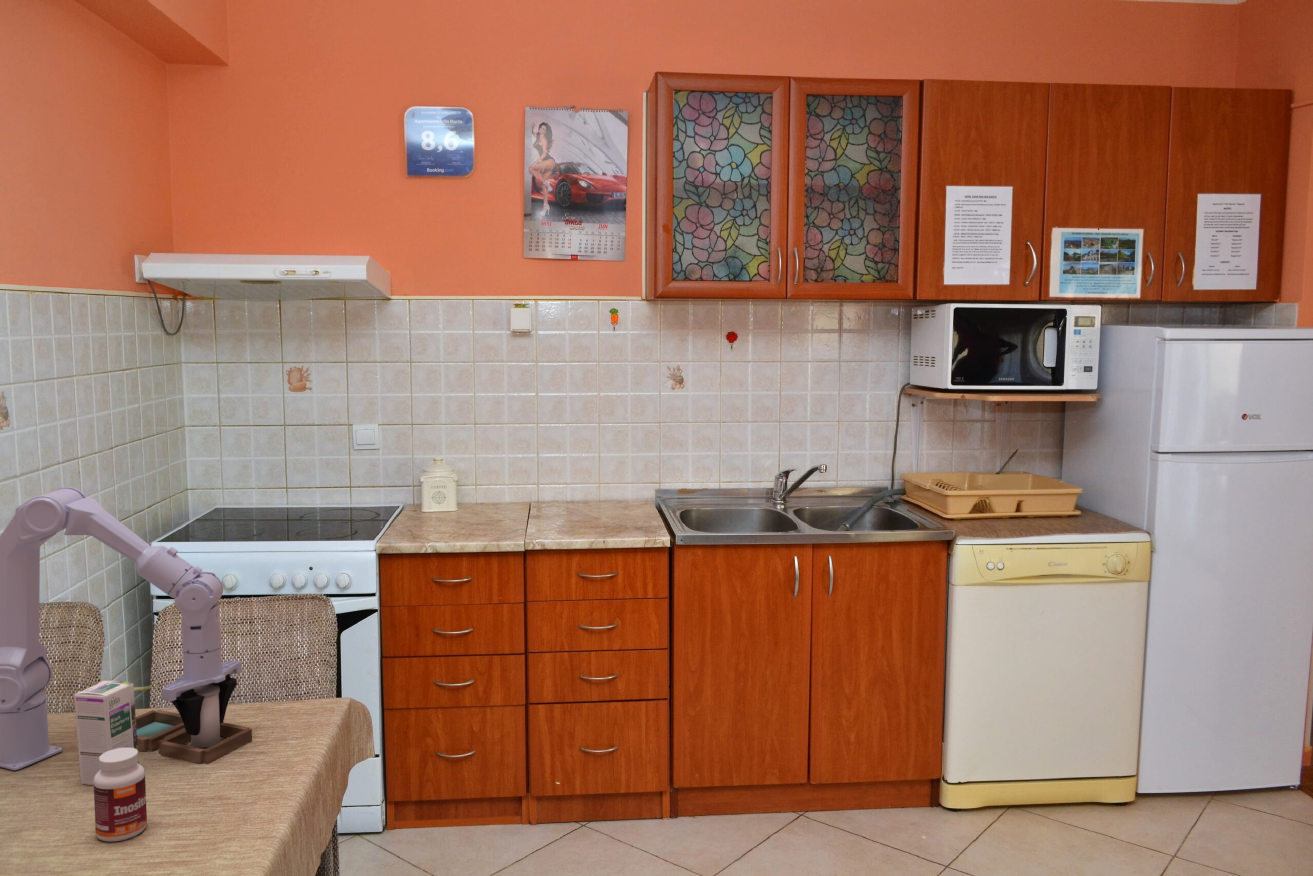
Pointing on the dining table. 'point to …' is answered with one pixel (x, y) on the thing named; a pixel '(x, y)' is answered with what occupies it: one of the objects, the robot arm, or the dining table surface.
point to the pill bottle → (119, 795)
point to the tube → (208, 718)
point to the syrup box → (104, 723)
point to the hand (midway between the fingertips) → (205, 728)
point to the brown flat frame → (184, 737)
